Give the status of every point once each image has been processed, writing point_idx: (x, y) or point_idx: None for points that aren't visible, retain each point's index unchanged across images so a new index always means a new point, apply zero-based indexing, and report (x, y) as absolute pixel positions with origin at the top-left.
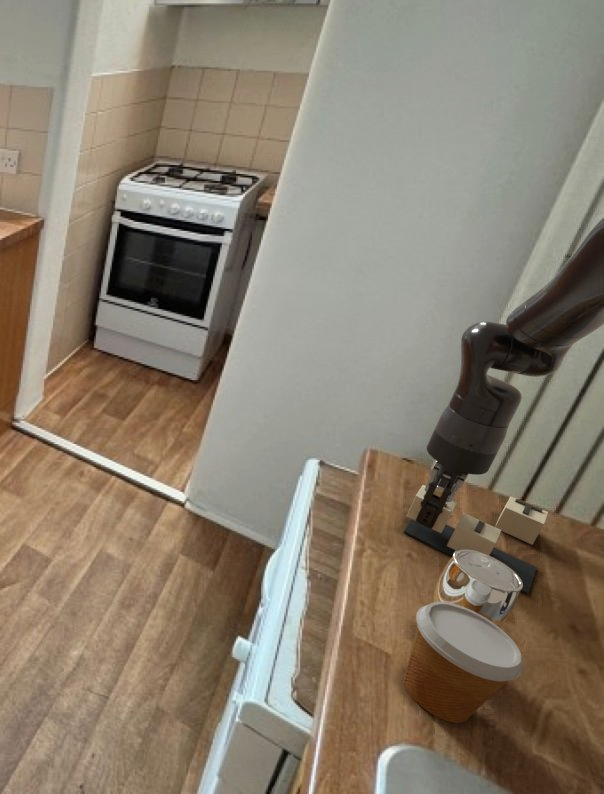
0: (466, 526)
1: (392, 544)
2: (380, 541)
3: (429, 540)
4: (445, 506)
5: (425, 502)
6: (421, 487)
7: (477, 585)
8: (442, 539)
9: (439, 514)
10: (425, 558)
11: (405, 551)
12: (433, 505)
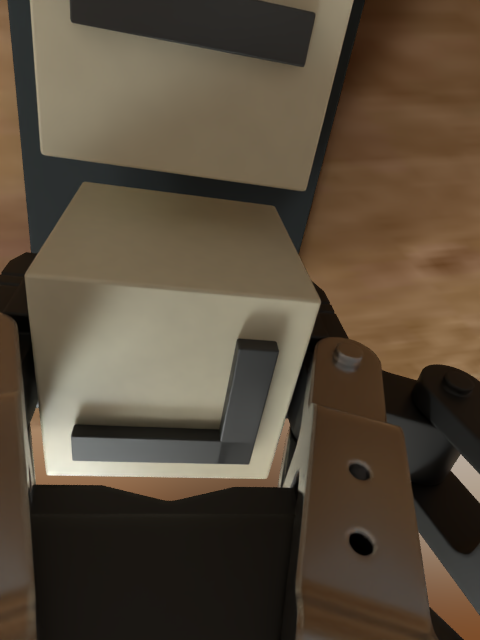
0: (270, 127)
1: (404, 318)
2: (412, 350)
3: (279, 213)
4: (279, 351)
5: (472, 502)
6: (102, 474)
7: None
8: None
9: (472, 378)
10: (428, 209)
11: (424, 277)
12: (451, 454)
